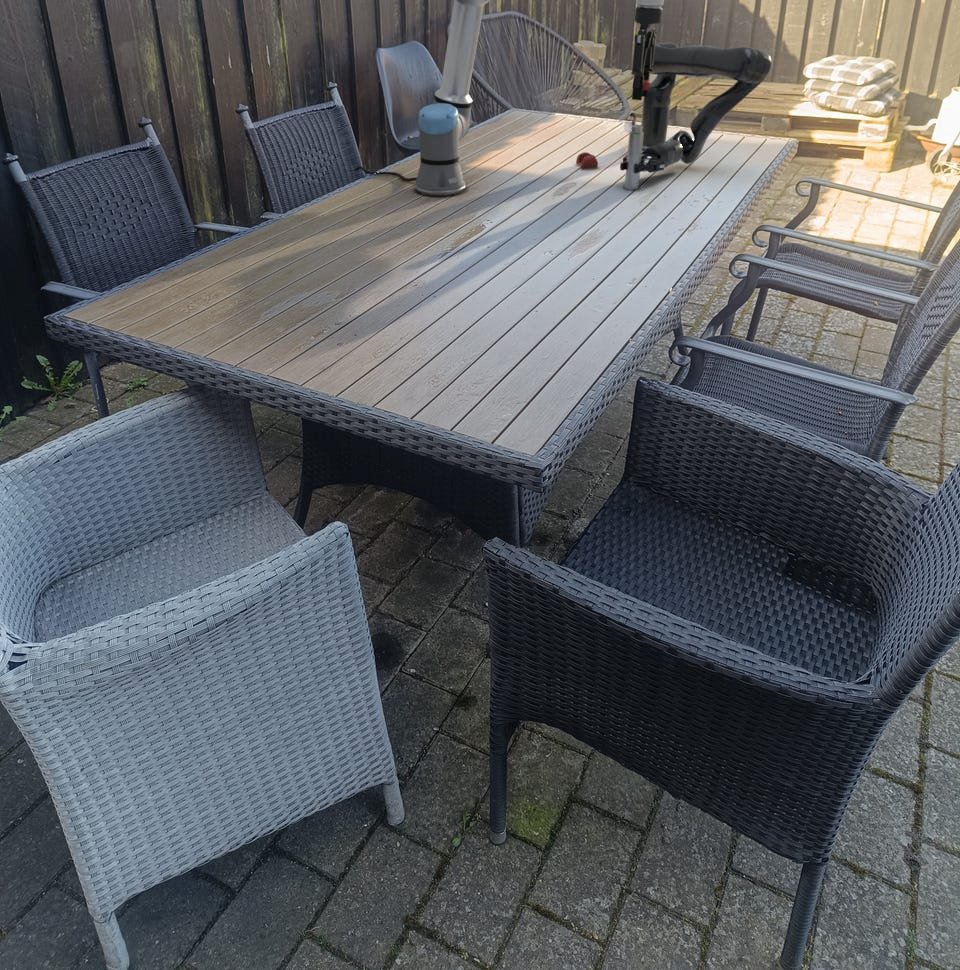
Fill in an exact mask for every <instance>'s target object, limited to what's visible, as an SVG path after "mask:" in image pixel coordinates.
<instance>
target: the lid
mask: <svg viewBox="0 0 960 970" xmlns="http://www.w3.org/2000/svg"><path fill="white" fill-rule="evenodd" d="M633 83H634V79H633V81H632V84H633ZM650 83H651V82H650V79H649V80H644V83H643V90H648V89H649V85H650ZM631 88H632V89H633V86H632V87H631Z"/></svg>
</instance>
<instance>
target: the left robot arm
mask: <svg viewBox="0 0 960 970" xmlns="http://www.w3.org/2000/svg"><path fill="white" fill-rule="evenodd" d="M490 1H491V0H453V5H452V11H451V19H450V25H449V30H448V31H449V32H448V38H447V44H446V51H445V58H444V64H443V71H442V76H441V83H440V88H439V89H437V90H436V91H435V92H434V98H433V103H432V104H429V105H425V106H423V107H422V108H421V109H420V110H419V112H418V119H417V120H418V121H417V123H418V134H419V135H418V136H419V138H418V139H419V157H420V158H419V159H420V161H419V162H420V164H419V168H418V172H417V176H416V177H406V176H404V175H403V174H401V173H399V172H395V171H372V170H368V169H366V168H365V167H364V166H362V165H357V166H356V168H355V169H354V170H355V171H359V170H361V171H362V172H364V173H365V174H368V175H373V176H395V177H399V178H400V179H401V180H402V181H406V182H415V185H414V186H415V192H417V193H418V194H420V195H424V196H430V197H450V196H455V195H459V194H461V193H463V192H464V191H466V181H465V179H464V176H463V172H462V169H461V165H460V144H459V143H460V141H461V140H462V139H464V137H465V136H466V135H467V134H468V132H469V130H470V128H471V125H472V112H471V111H472V105H473V99H472V97H471V95H470V88H471V81H472V77H473V70H474V65H475V58H476V54H477V53H476V52H477V48H478V47H477V46H478V42H479V36H480V35H479V34H480V30H481V29H480V28H481V23H482V19H483V11H484V6H485V5H486V4H488V3H489V2H490ZM664 3H665V0H635V5H636V7H635V9H634V22H635V23H636V24H639V25H640V26H639V29H638V31H637V34H635V35H634V49H633V58H632V67H631V68H632V70H631V73H630V75H632V76H633V80H634V83H633V82H632V87H633V88H632V92H631V93H632V94H631V100H632V101H633V100H635V101H642V100H643V98H644V97H647V95H648V90H643V83H644V80H649V81H650V76H651V74H650V72H653V70H654V69H652V68H653V63H654V54H655V45H656V44H657V38H658V33H659V32H658V29H656V25H658V24H661V23H662V22H663V14H664V13H663V12H664V8H663V7H662V6H663V5H664ZM377 172H379V173H377ZM374 173H376V174H374Z"/></svg>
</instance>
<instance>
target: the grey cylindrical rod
mask: <svg viewBox="0 0 960 970" xmlns="http://www.w3.org/2000/svg"><path fill="white" fill-rule="evenodd" d="M642 129H643V126H642V125H641V124H635V125H633V124H632V126H631V131H629V135H628V145H627V154H626V155H627V164H626V170H625V175H624V185H623V187H624V189H625V190H628V191H635V190H638V189H639V183H640V174H641V172H639V173H637V174H636V173H634V167H635V166H636V165H638V164H641V156H642V153H643V149H642V147H643V137H644V132H642Z"/></svg>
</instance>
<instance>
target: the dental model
mask: <svg viewBox="0 0 960 970" xmlns="http://www.w3.org/2000/svg"><path fill="white" fill-rule="evenodd" d="M575 162H576V163H575V164H576V165H580V168H581V169H593V168H594V169H595V168H598V167H599V162H598V160H597V158H596V155H593V154H590V152H587V151H585V152H581V153H580V154H578V155H577V157H576V160H575Z"/></svg>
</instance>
